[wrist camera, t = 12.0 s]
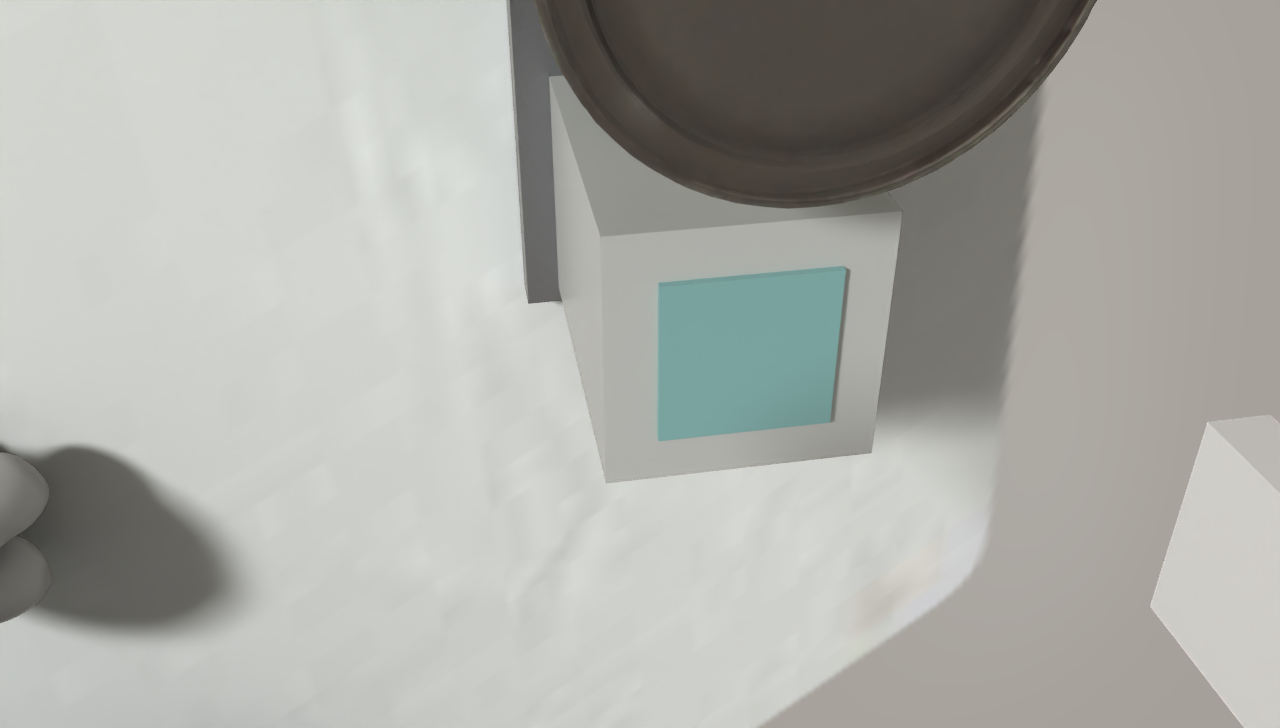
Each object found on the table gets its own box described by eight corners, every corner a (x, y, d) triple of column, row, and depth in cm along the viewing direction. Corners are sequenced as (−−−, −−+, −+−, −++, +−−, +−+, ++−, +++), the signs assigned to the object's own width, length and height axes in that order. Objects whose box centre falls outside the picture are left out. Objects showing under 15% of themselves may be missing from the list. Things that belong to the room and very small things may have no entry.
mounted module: (771, 267, 40) (873, 457, 32) (559, 287, 39) (606, 488, 31) (784, 61, 36) (906, 215, 28) (549, 76, 35) (602, 240, 27)
